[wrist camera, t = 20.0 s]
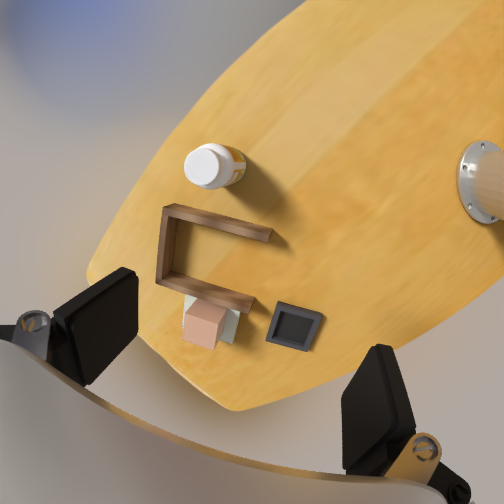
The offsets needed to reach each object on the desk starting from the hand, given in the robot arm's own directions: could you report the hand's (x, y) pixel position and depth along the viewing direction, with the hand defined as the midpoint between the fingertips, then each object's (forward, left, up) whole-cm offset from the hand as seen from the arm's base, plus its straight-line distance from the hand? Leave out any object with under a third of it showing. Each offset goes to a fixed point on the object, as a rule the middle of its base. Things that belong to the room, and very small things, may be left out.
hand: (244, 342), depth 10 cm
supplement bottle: (+10, -4, -28) cm, 30 cm away
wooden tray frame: (+10, +9, -28) cm, 31 cm away
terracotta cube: (+8, +19, -27) cm, 34 cm away
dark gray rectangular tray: (-5, +17, -28) cm, 33 cm away
